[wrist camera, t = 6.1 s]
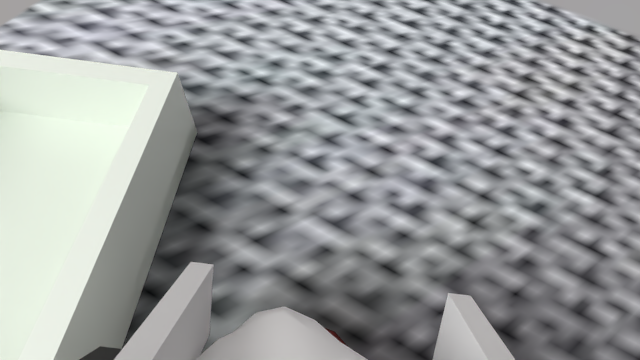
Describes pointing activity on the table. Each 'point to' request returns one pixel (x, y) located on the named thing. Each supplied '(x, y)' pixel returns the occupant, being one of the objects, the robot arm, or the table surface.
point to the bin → (82, 197)
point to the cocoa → (280, 340)
